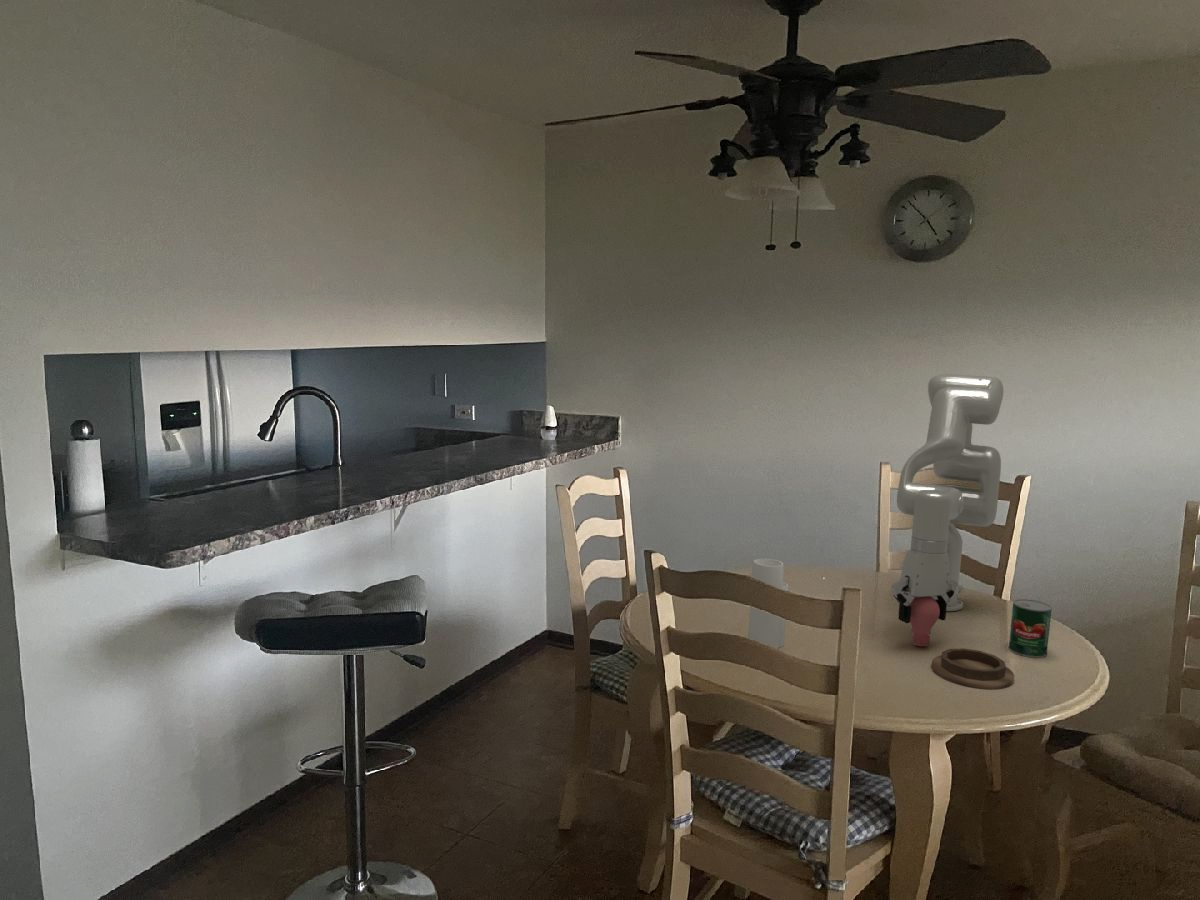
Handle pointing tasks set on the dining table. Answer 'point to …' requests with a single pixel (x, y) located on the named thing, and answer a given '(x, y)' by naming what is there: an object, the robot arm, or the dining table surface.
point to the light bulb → (923, 619)
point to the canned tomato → (1030, 628)
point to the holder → (973, 669)
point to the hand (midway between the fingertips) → (921, 619)
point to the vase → (761, 622)
